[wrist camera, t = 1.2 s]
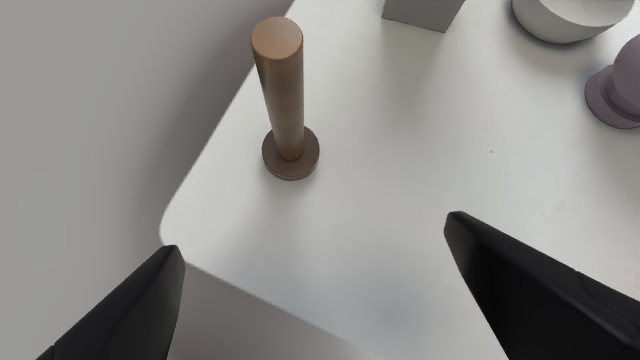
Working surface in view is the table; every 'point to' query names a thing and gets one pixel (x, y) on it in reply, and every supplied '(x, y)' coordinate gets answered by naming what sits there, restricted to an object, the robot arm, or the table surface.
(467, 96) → the table surface
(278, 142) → the wooden peg on base
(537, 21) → the small pan
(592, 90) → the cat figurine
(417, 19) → the perfume bottle
